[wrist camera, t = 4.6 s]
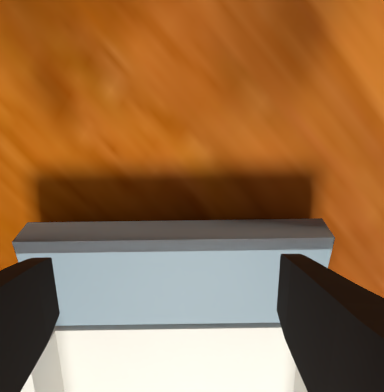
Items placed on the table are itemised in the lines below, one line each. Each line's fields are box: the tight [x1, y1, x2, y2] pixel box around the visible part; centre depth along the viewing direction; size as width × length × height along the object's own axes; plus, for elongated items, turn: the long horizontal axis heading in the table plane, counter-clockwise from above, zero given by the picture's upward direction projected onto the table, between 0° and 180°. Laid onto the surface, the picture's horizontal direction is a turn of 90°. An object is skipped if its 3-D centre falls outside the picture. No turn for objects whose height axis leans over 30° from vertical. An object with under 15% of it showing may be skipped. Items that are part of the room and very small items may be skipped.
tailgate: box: [12, 219, 335, 326], centre depth 15 cm, size 2×13×5 cm
